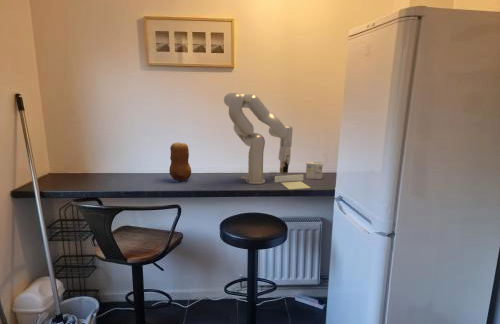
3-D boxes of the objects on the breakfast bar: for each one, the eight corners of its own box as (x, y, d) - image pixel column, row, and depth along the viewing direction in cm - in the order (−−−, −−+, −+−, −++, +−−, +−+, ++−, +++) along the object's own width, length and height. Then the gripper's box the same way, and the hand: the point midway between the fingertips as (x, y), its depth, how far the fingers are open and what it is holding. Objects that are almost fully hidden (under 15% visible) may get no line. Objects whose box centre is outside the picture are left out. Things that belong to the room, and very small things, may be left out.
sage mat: (289, 189, 186) (289, 189, 186) (280, 183, 199) (280, 182, 199) (310, 188, 189) (310, 187, 189) (301, 182, 203) (301, 181, 203)
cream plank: (274, 182, 201) (275, 176, 200) (274, 182, 202) (274, 176, 201) (303, 180, 206) (303, 174, 206) (302, 180, 207) (303, 174, 206)
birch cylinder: (281, 173, 207) (282, 162, 205) (278, 172, 212) (279, 160, 210) (288, 173, 208) (289, 162, 206) (285, 171, 213) (286, 160, 212)
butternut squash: (190, 177, 211) (189, 140, 206) (192, 182, 198) (191, 143, 193) (169, 178, 208) (168, 141, 202) (169, 183, 195) (168, 144, 190)
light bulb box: (320, 176, 216) (321, 161, 214) (322, 179, 210) (323, 163, 207) (305, 176, 217) (306, 161, 215) (306, 178, 211) (306, 163, 208)
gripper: (276, 142, 213) (274, 168, 217) (285, 146, 197) (283, 174, 201) (286, 142, 215) (284, 168, 219) (296, 146, 199) (293, 173, 203)
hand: (283, 170), depth 210 cm, fingers closed on birch cylinder, 5 cm apart
